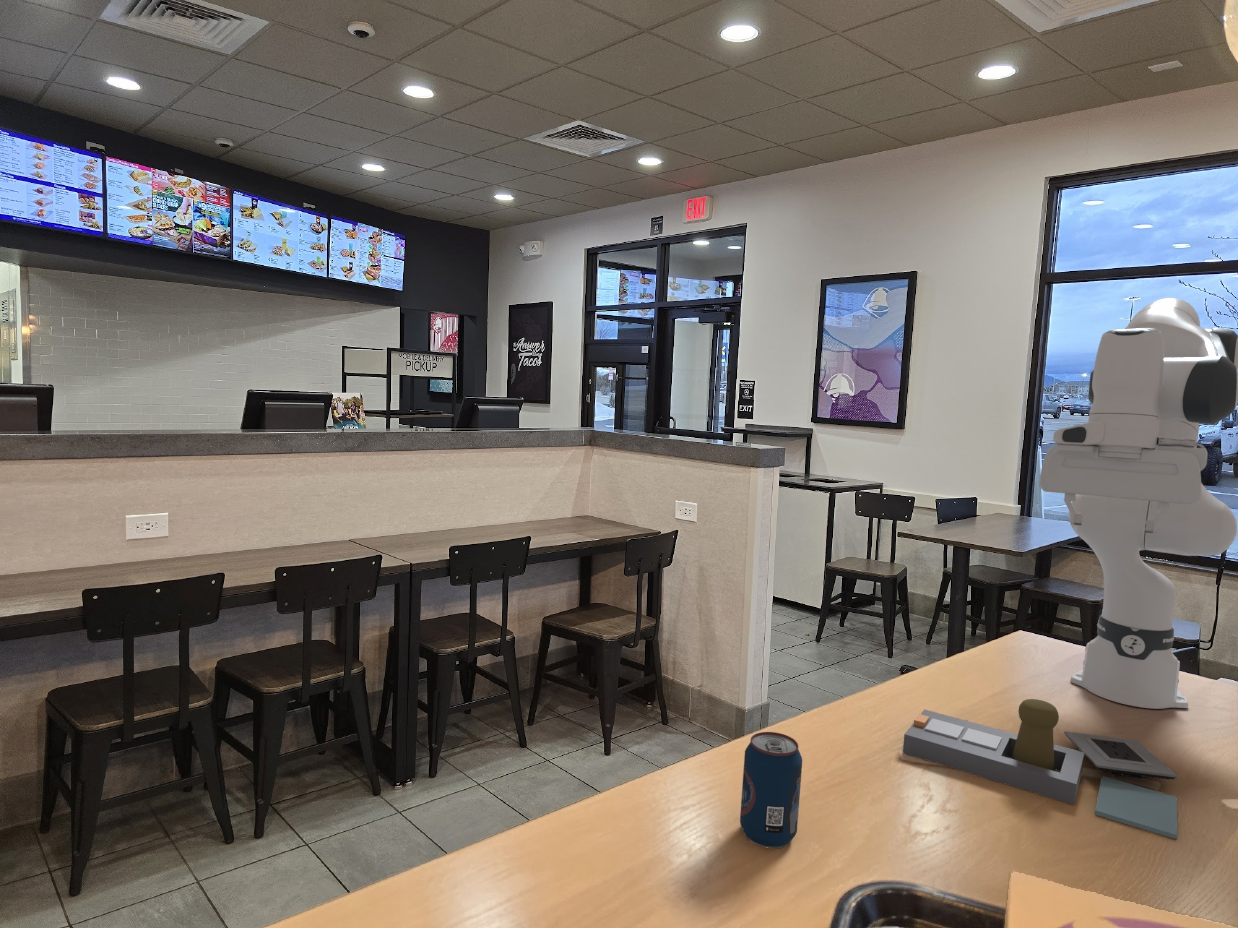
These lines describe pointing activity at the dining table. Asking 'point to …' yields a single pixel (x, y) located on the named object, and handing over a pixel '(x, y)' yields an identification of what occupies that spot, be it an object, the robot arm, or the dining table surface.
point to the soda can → (771, 789)
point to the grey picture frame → (1120, 756)
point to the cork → (1036, 734)
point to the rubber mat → (1137, 807)
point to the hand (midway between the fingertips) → (1112, 528)
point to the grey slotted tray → (991, 755)
